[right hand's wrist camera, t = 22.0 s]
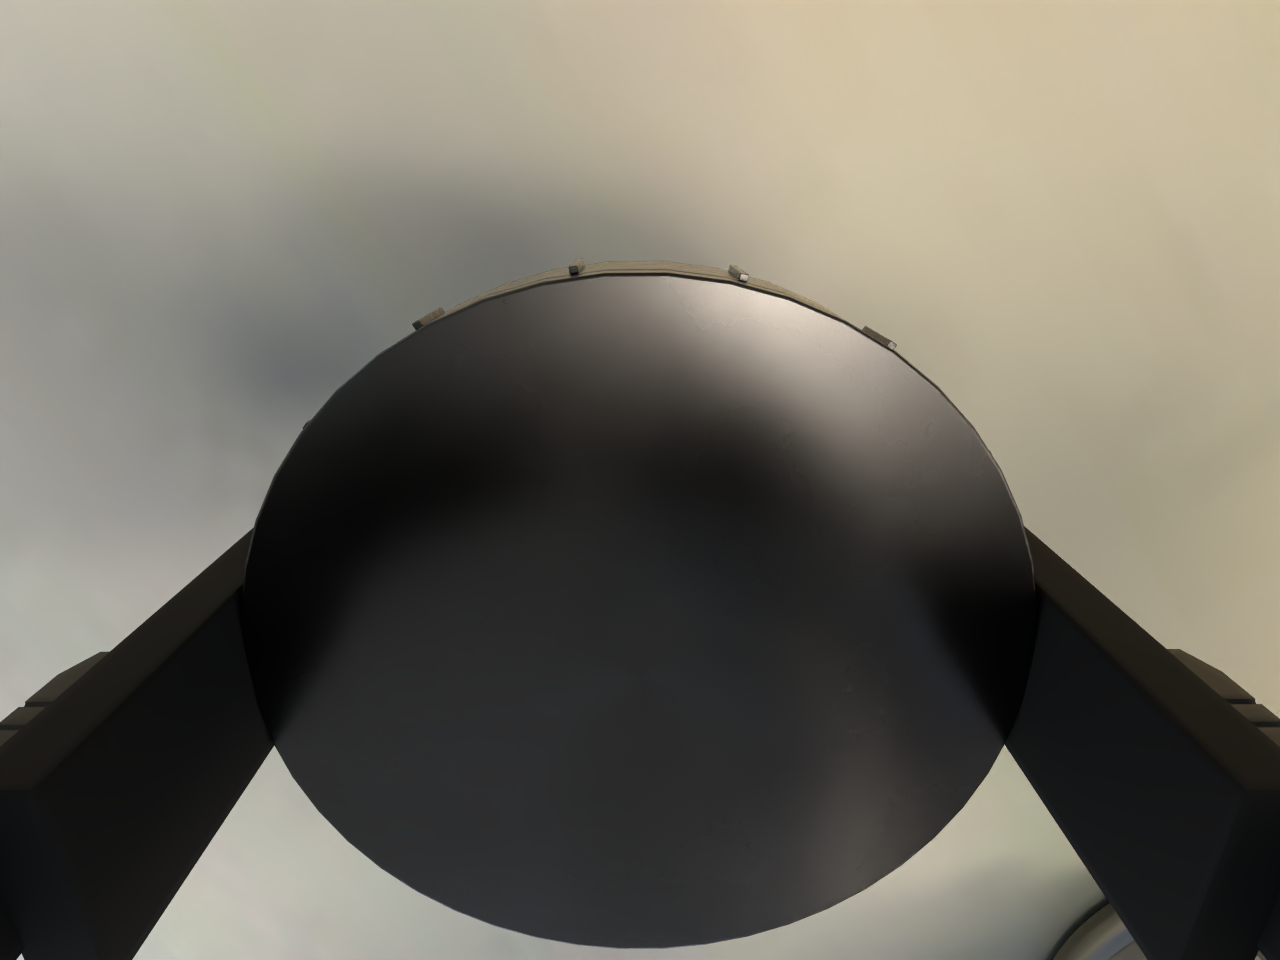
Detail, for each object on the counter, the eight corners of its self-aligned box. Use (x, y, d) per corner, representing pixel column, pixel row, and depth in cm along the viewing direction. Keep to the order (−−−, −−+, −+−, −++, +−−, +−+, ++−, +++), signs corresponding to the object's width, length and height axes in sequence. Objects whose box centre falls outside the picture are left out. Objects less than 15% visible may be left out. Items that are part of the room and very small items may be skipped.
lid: (245, 785, 13) (193, 862, 12) (358, 134, 9) (303, 121, 8) (816, 924, 14) (837, 1010, 13) (1125, 401, 11) (1207, 436, 9)
